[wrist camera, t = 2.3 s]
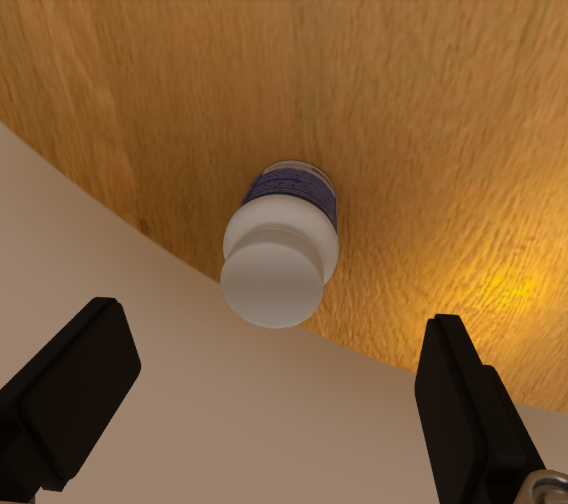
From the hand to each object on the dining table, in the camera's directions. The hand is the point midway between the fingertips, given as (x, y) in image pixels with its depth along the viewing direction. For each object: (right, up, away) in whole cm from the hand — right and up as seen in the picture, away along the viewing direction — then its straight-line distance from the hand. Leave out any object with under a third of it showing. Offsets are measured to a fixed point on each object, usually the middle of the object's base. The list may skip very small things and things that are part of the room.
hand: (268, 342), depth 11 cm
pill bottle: (+1, +6, +10) cm, 12 cm away
